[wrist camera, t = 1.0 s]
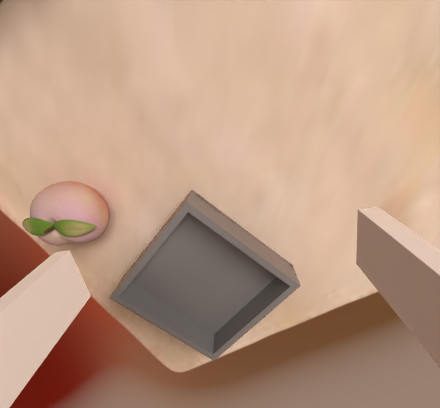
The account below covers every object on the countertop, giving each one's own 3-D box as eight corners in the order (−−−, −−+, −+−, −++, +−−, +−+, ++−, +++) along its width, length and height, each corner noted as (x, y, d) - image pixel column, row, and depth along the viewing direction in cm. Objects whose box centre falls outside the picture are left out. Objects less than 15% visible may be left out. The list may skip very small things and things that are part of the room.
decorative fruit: (111, 168, 35) (68, 189, 26) (128, 220, 38) (94, 256, 29) (51, 178, 36) (-12, 201, 27) (71, 227, 39) (21, 264, 30)
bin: (123, 277, 42) (109, 297, 37) (192, 189, 36) (186, 201, 31) (215, 335, 46) (213, 360, 41) (292, 265, 40) (300, 285, 35)
